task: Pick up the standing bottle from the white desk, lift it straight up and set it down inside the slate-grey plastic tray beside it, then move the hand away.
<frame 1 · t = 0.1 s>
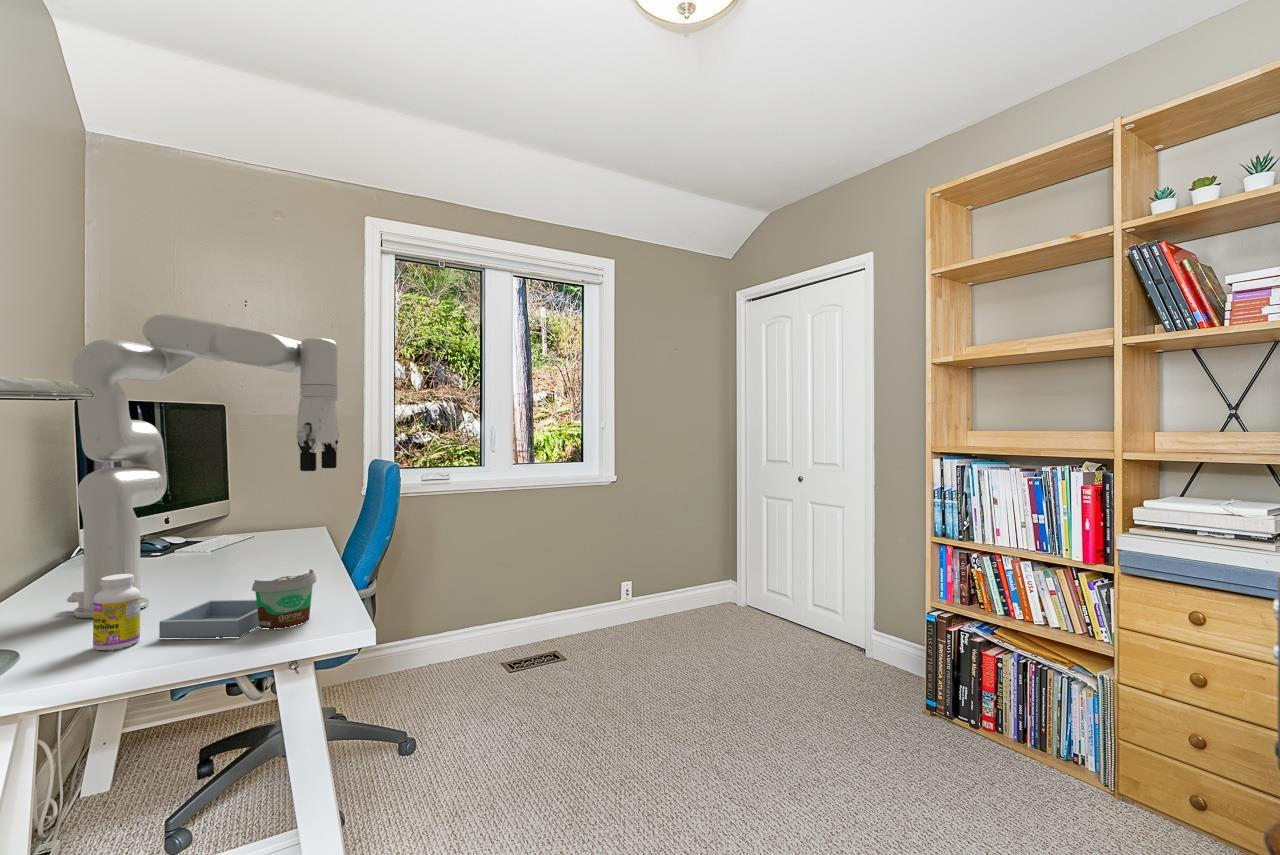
hand: (319, 469, 138), 31 cm above the table, tool pointing down, fingers open, 9 cm apart
tray: (223, 627, 124), on the table
food container: (291, 625, 125), on the table
supplement bottle: (116, 646, 113), on the table
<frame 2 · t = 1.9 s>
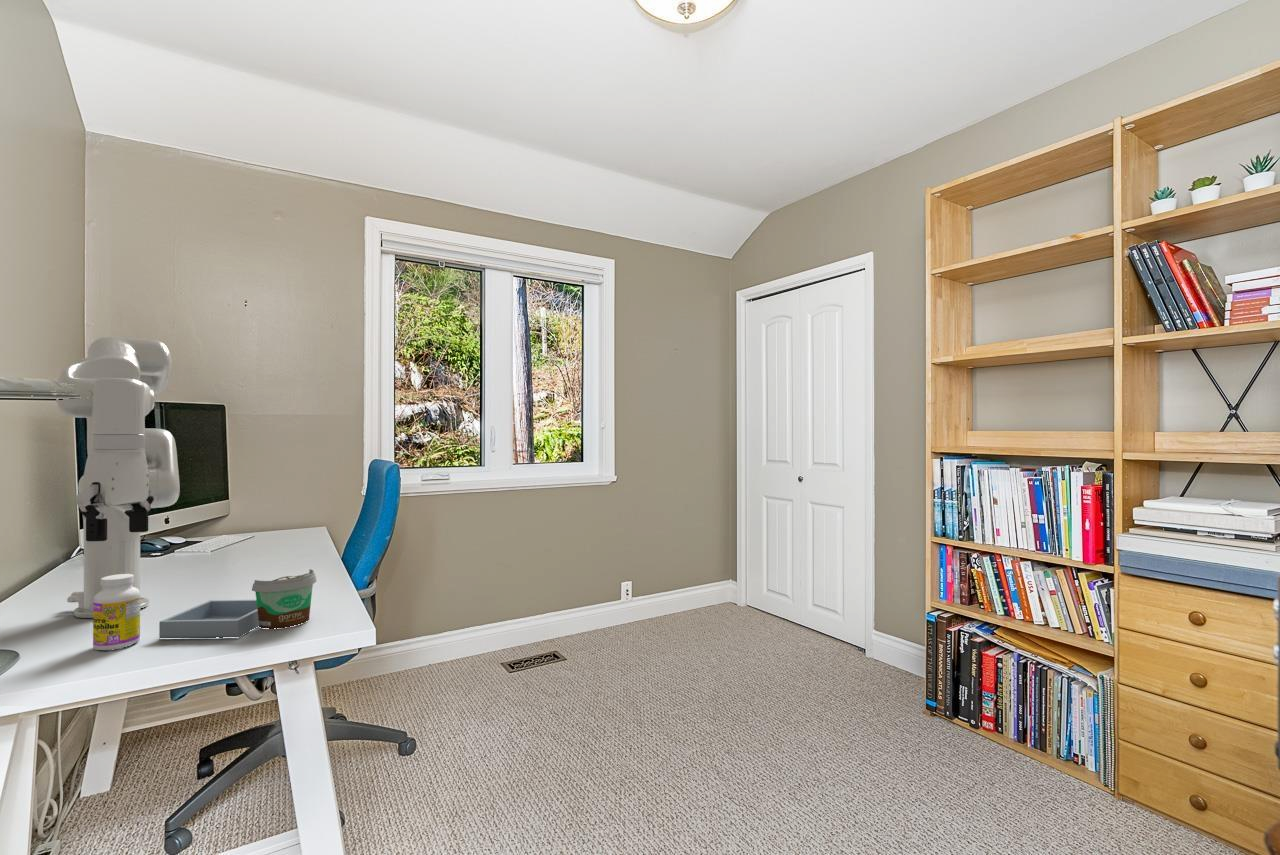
hand: (118, 536, 114), 20 cm above the table, tool pointing down, fingers open, 9 cm apart
nothing on the table moved.
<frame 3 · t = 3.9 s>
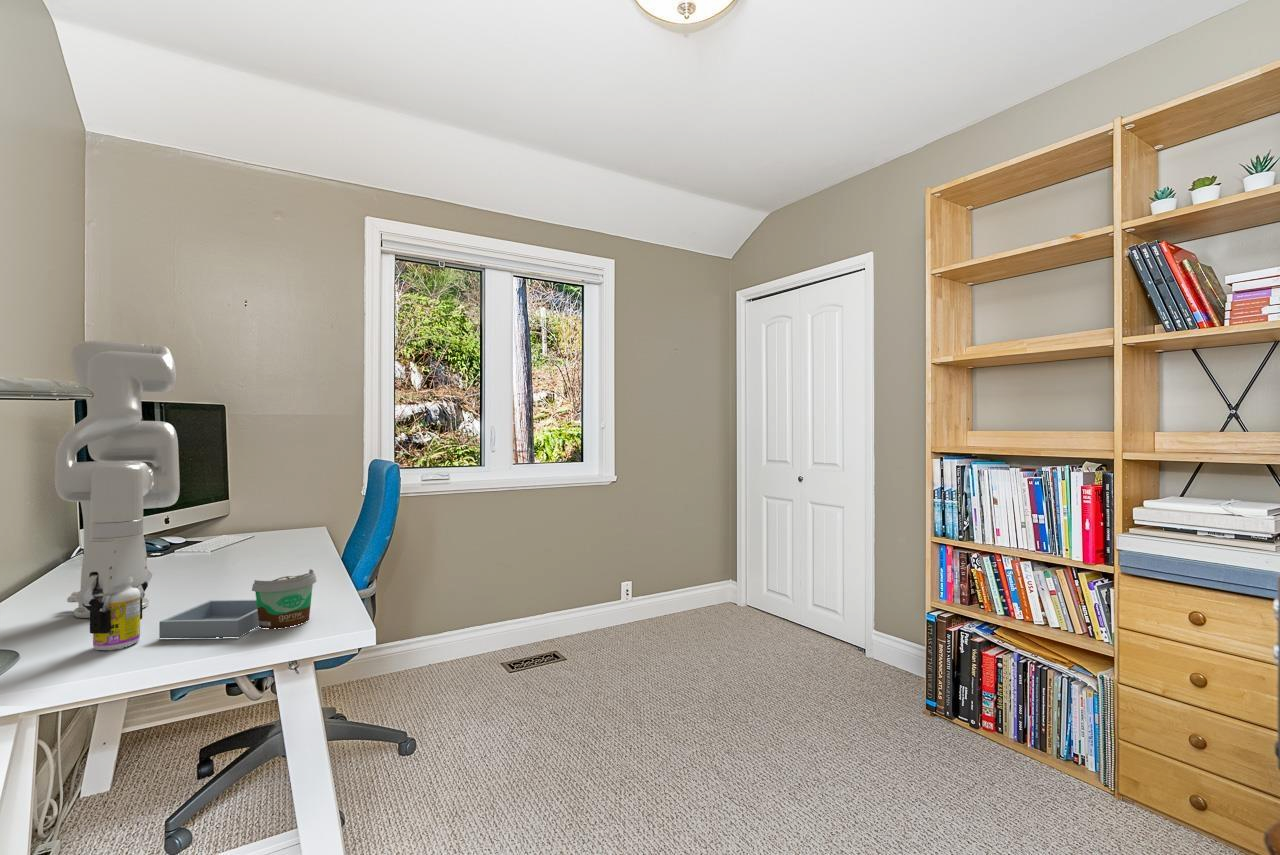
hand: (116, 625, 113), 4 cm above the table, tool pointing down, fingers closed on supplement bottle, 6 cm apart
supplement bottle: (117, 646, 113), on the table, touching gripper
everything else where it was.
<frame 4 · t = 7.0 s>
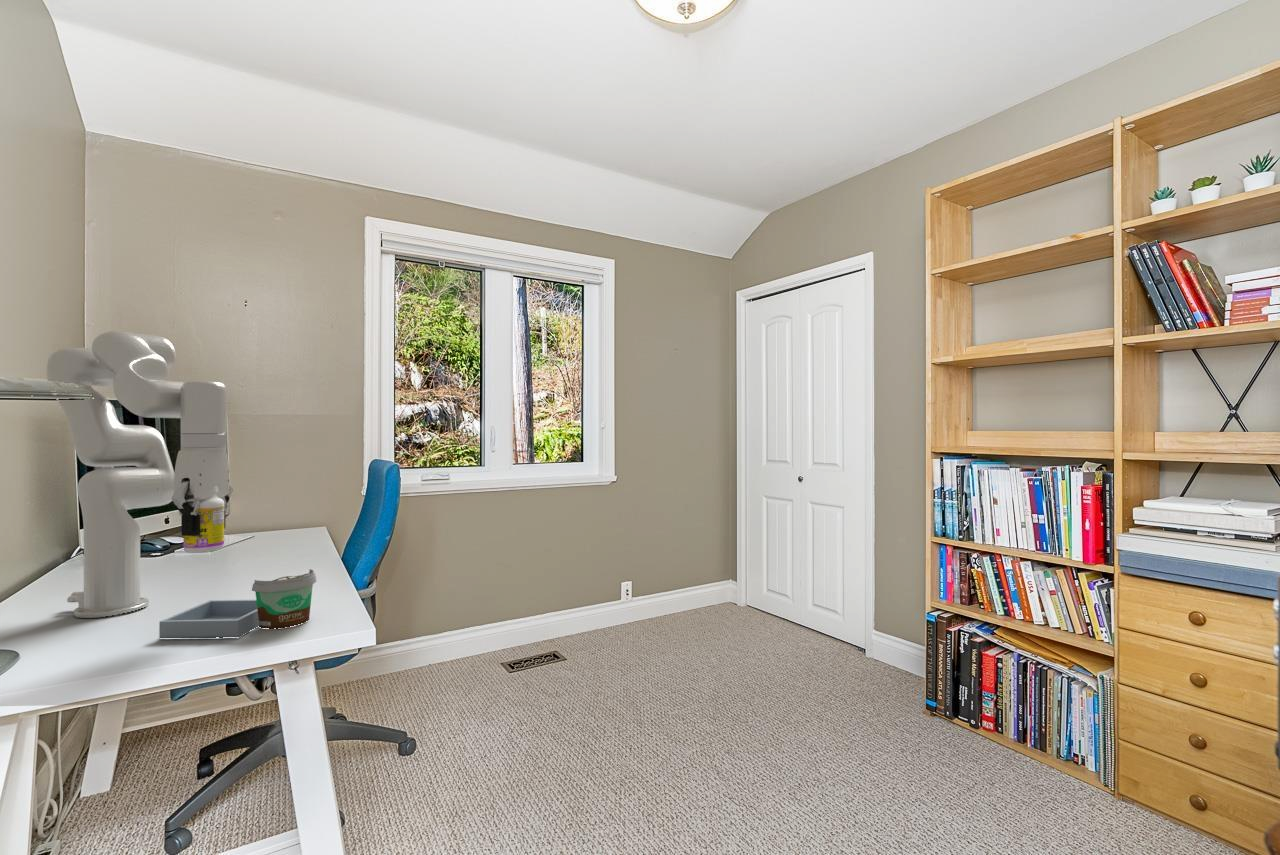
hand: (204, 531, 122), 20 cm above the table, tool pointing down, fingers closed on supplement bottle, 6 cm apart
supplement bottle: (204, 551, 122), point 16 cm above the table, touching gripper
everything else where it was.
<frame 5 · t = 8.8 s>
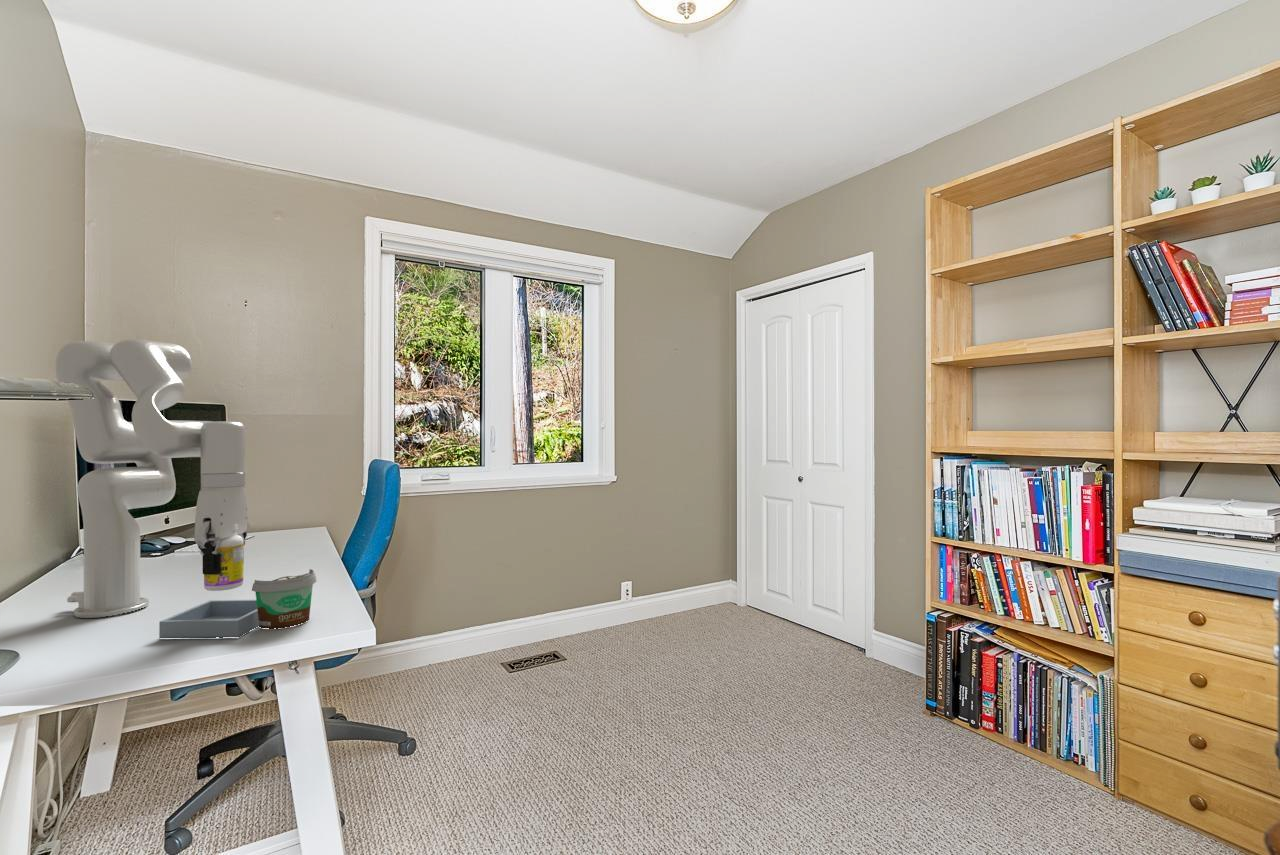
hand: (223, 569, 124), 12 cm above the table, tool pointing down, fingers closed on supplement bottle, 6 cm apart
supplement bottle: (224, 588, 124), point 8 cm above the table, touching gripper
everything else where it was.
when the fingers open (6 cm above the table, at t = 10.4 s): supplement bottle drops 2 cm, resting on tray.
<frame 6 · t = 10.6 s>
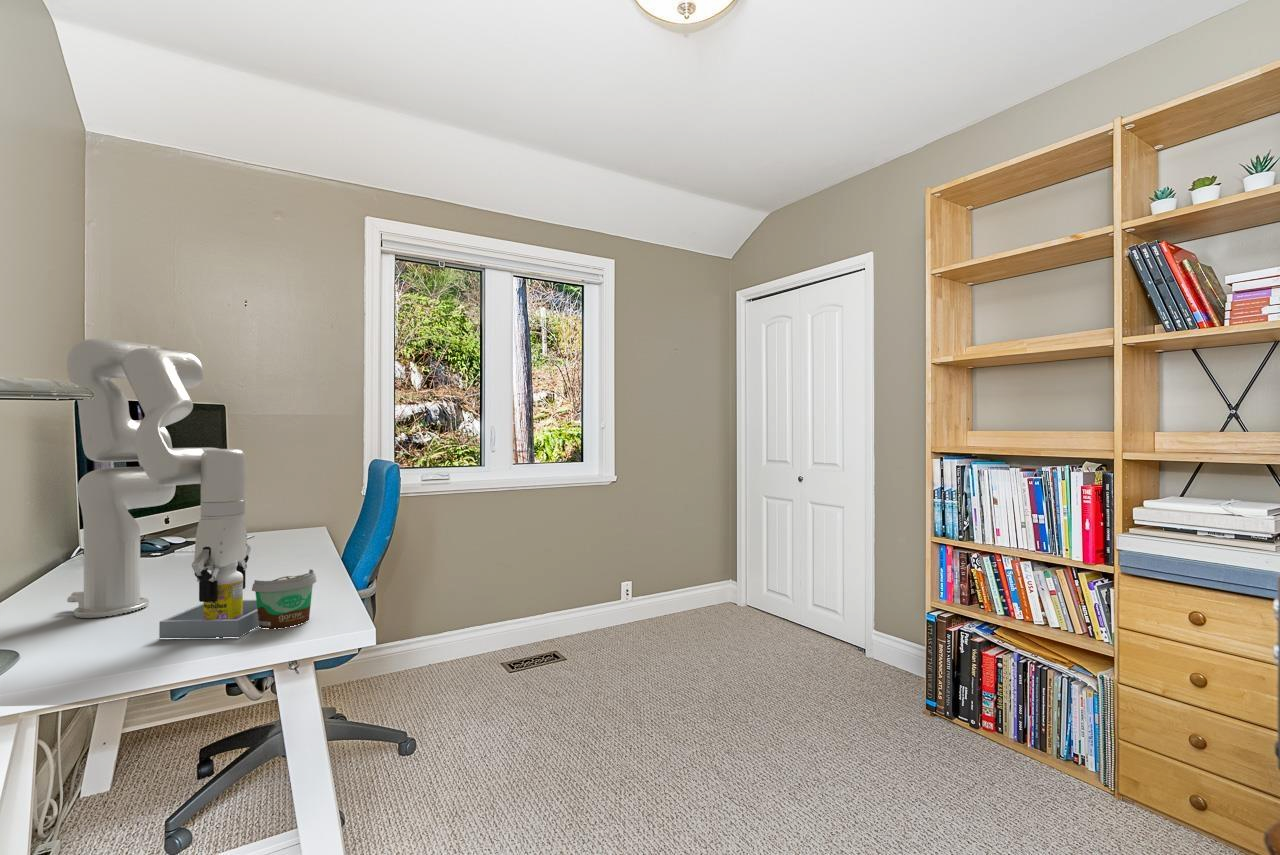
hand: (223, 594, 124), 7 cm above the table, tool pointing down, fingers open, 8 cm apart
supplement bottle: (223, 625, 124), resting on tray
everything else where it was.
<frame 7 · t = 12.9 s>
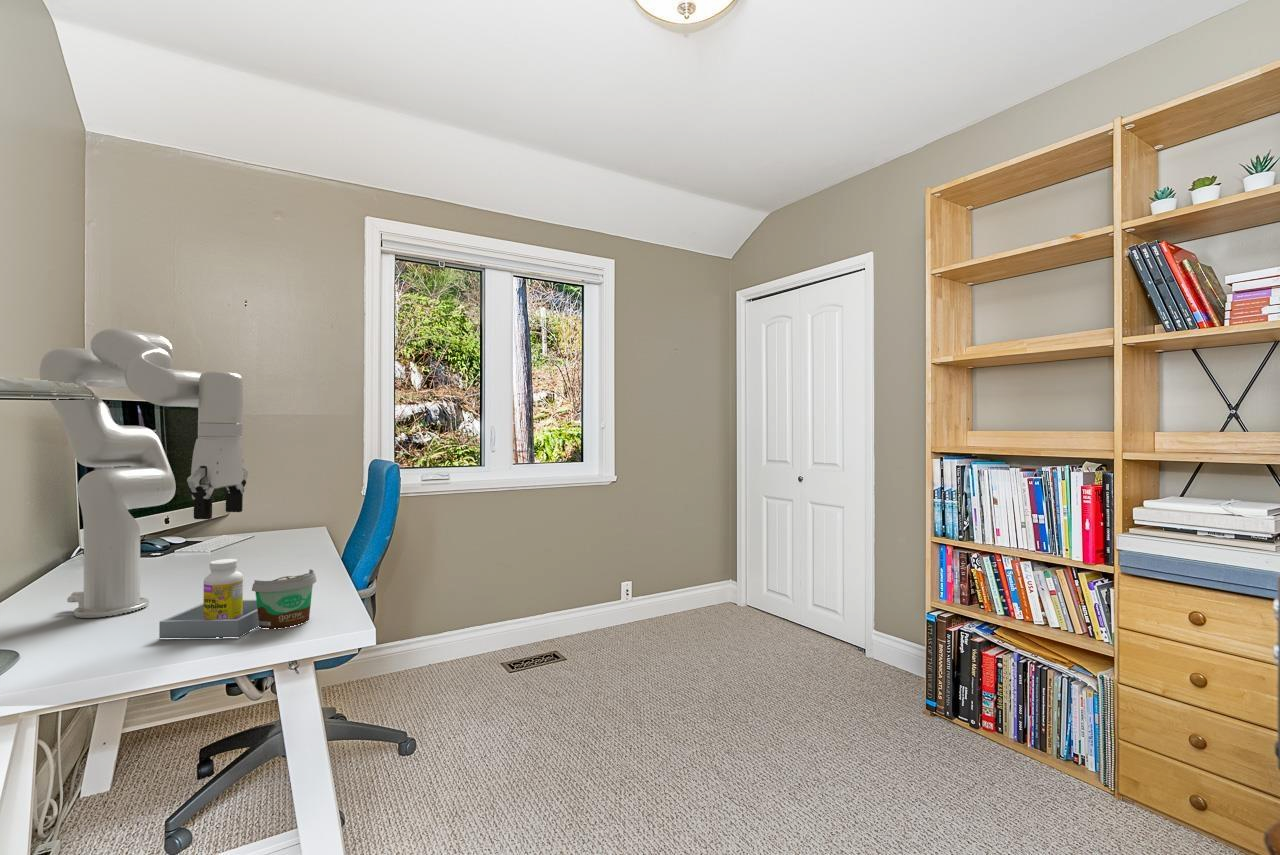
hand: (219, 515, 125), 23 cm above the table, tool pointing down, fingers open, 9 cm apart
nothing on the table moved.
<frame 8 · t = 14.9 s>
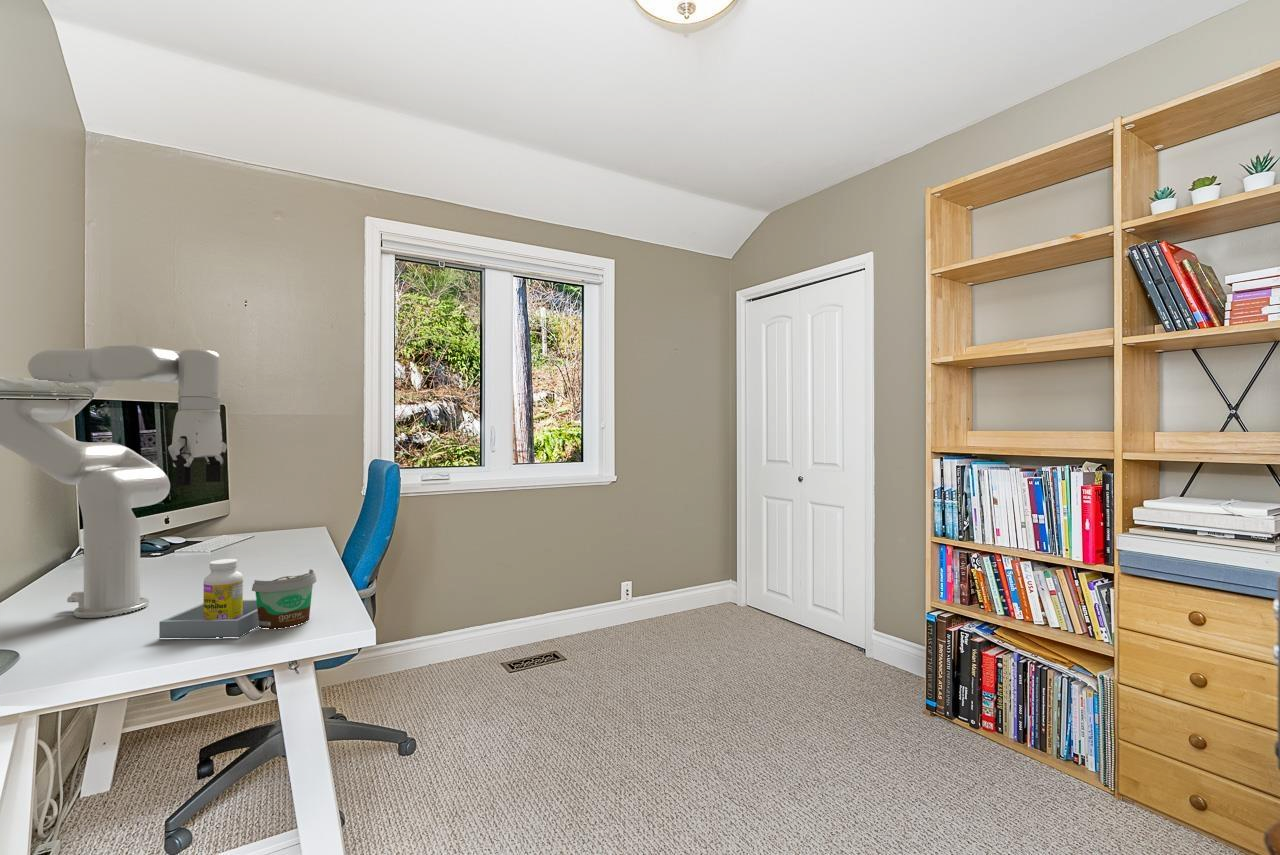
hand: (199, 483, 134), 28 cm above the table, tool pointing down, fingers open, 9 cm apart
nothing on the table moved.
at the end: supplement bottle inside the target area on the tray (0.4 cm from its centre), point 0.3 cm above the tray's base; supplement bottle tilted 0°; the gripper is holding nothing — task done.
